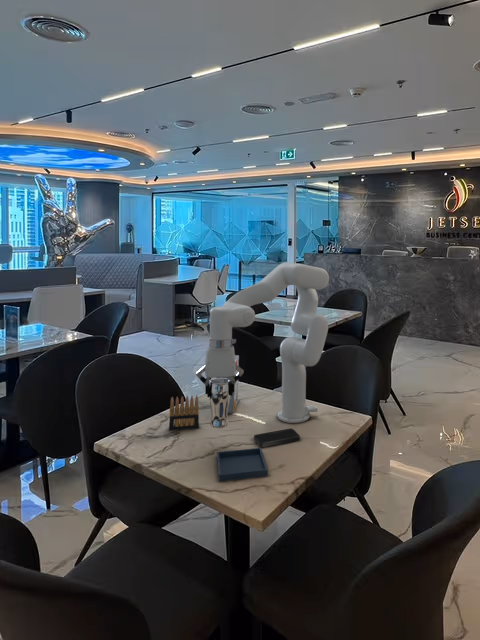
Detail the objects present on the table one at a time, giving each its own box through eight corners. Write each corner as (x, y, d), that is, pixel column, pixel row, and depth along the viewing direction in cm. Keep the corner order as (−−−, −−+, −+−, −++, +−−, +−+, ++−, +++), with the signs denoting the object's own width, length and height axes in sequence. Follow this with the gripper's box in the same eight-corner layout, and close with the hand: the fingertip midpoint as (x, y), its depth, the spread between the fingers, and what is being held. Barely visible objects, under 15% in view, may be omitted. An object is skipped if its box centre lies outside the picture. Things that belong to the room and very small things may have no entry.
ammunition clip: (198, 426, 165) (199, 394, 165) (198, 428, 163) (199, 395, 163) (169, 428, 162) (169, 396, 162) (168, 430, 160) (169, 397, 160)
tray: (260, 453, 144) (261, 447, 144) (267, 475, 130) (267, 469, 130) (217, 457, 141) (217, 451, 141) (219, 481, 127) (219, 475, 127)
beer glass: (232, 421, 153) (232, 378, 153) (226, 429, 146) (227, 384, 146) (212, 419, 154) (213, 377, 154) (206, 428, 147) (206, 383, 147)
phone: (300, 436, 154) (260, 444, 148) (300, 440, 154) (260, 447, 148) (292, 427, 161) (253, 434, 155) (292, 431, 161) (253, 437, 155)
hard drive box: (234, 414, 176) (234, 364, 176) (214, 414, 176) (215, 364, 176) (238, 400, 192) (239, 354, 192) (220, 400, 192) (221, 354, 192)
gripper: (244, 339, 156) (244, 389, 156) (194, 341, 151) (193, 393, 151) (247, 344, 148) (246, 397, 148) (194, 346, 144) (193, 401, 144)
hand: (219, 394), depth 150 cm, fingers closed on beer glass, 7 cm apart
